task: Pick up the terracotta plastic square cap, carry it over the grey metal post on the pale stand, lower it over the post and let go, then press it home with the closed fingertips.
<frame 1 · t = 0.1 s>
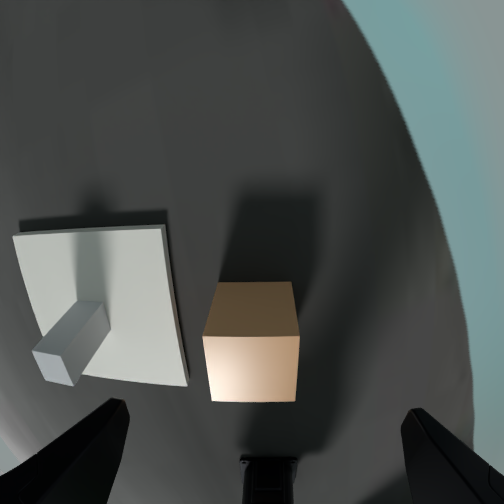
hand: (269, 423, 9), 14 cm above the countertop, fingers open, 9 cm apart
cap: (255, 313, 24), on the countertop
post stand: (98, 309, 25), on the countertop
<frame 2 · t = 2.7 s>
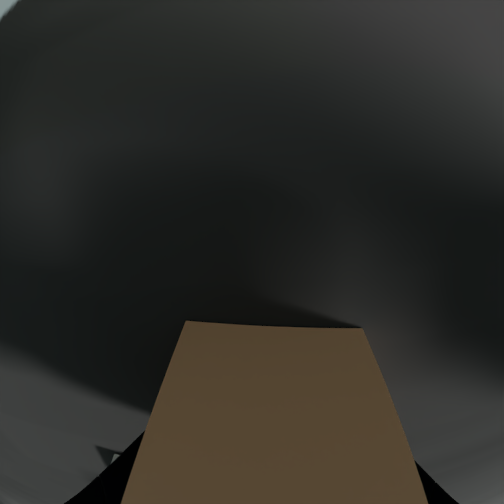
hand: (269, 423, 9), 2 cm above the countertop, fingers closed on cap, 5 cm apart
cap: (269, 389, 10), on the countertop, touching gripper
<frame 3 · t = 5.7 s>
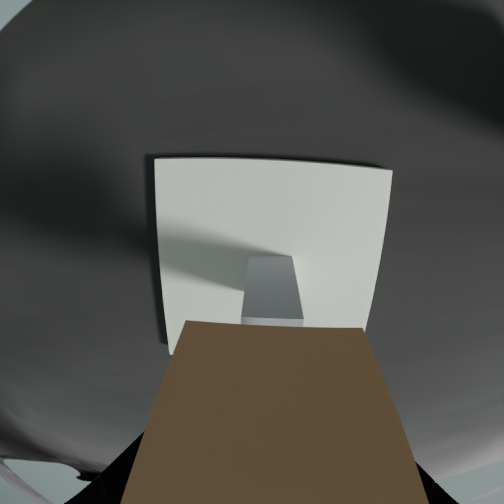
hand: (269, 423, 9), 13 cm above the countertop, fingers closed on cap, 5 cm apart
cap: (269, 389, 10), point 12 cm above the countertop, touching gripper
post stand: (269, 268, 21), on the countertop
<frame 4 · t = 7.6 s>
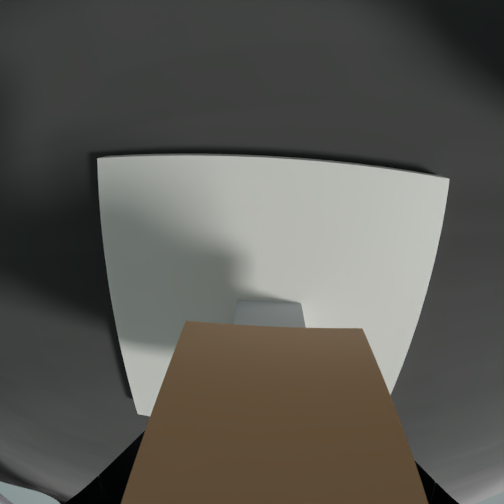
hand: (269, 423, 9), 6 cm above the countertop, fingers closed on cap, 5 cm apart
cap: (269, 389, 10), point 5 cm above the countertop, touching gripper
post stand: (267, 315, 15), on the countertop
when the fingers open (4 cm above the countertop, at t = 9.2 s): cap stays where it is, resting on post stand.
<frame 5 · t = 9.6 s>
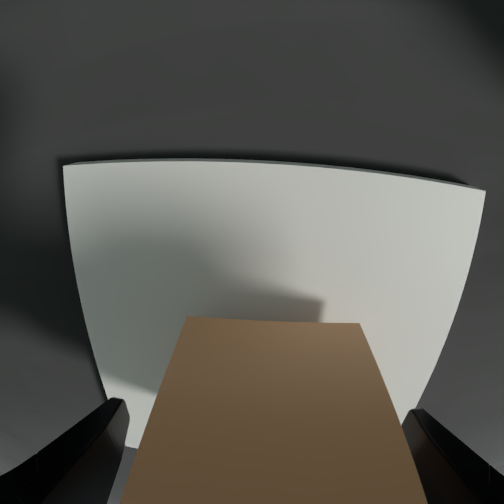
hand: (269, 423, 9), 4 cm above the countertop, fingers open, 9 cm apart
cap: (268, 384, 10), point 2 cm above the countertop, touching post stand
post stand: (268, 349, 12), on the countertop
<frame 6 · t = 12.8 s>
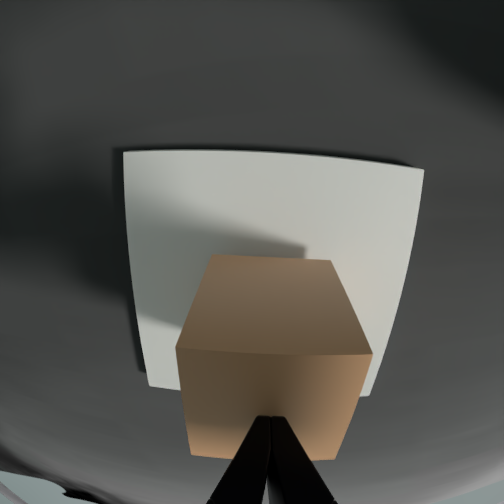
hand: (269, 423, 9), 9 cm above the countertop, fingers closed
cap: (268, 308, 15), point 2 cm above the countertop, touching post stand
post stand: (267, 289, 17), on the countertop
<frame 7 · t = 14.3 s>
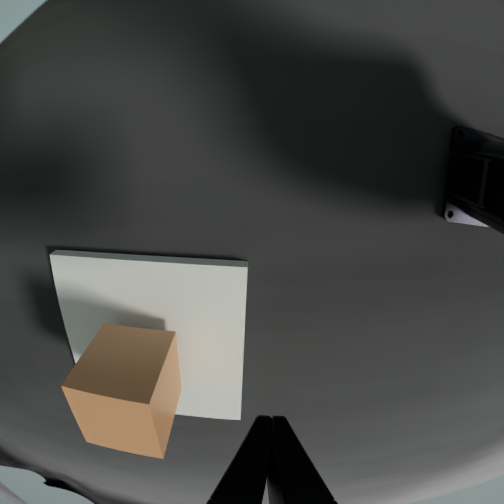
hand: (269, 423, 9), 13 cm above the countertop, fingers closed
cap: (143, 357, 21), point 2 cm above the countertop, touching post stand
post stand: (150, 341, 23), on the countertop
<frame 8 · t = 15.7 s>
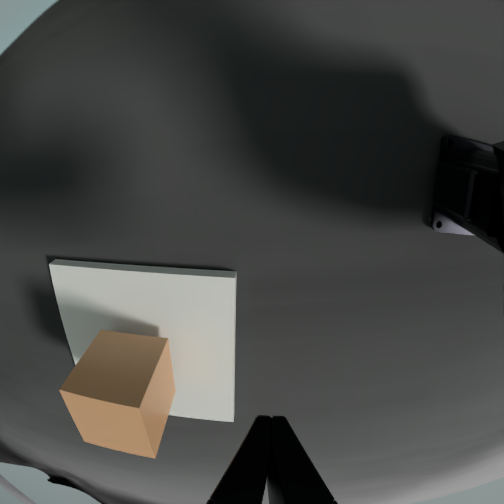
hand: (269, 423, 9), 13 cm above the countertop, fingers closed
cap: (138, 362, 22), point 2 cm above the countertop, touching post stand
post stand: (146, 346, 24), on the countertop
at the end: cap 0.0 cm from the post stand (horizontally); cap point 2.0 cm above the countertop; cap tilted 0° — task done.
